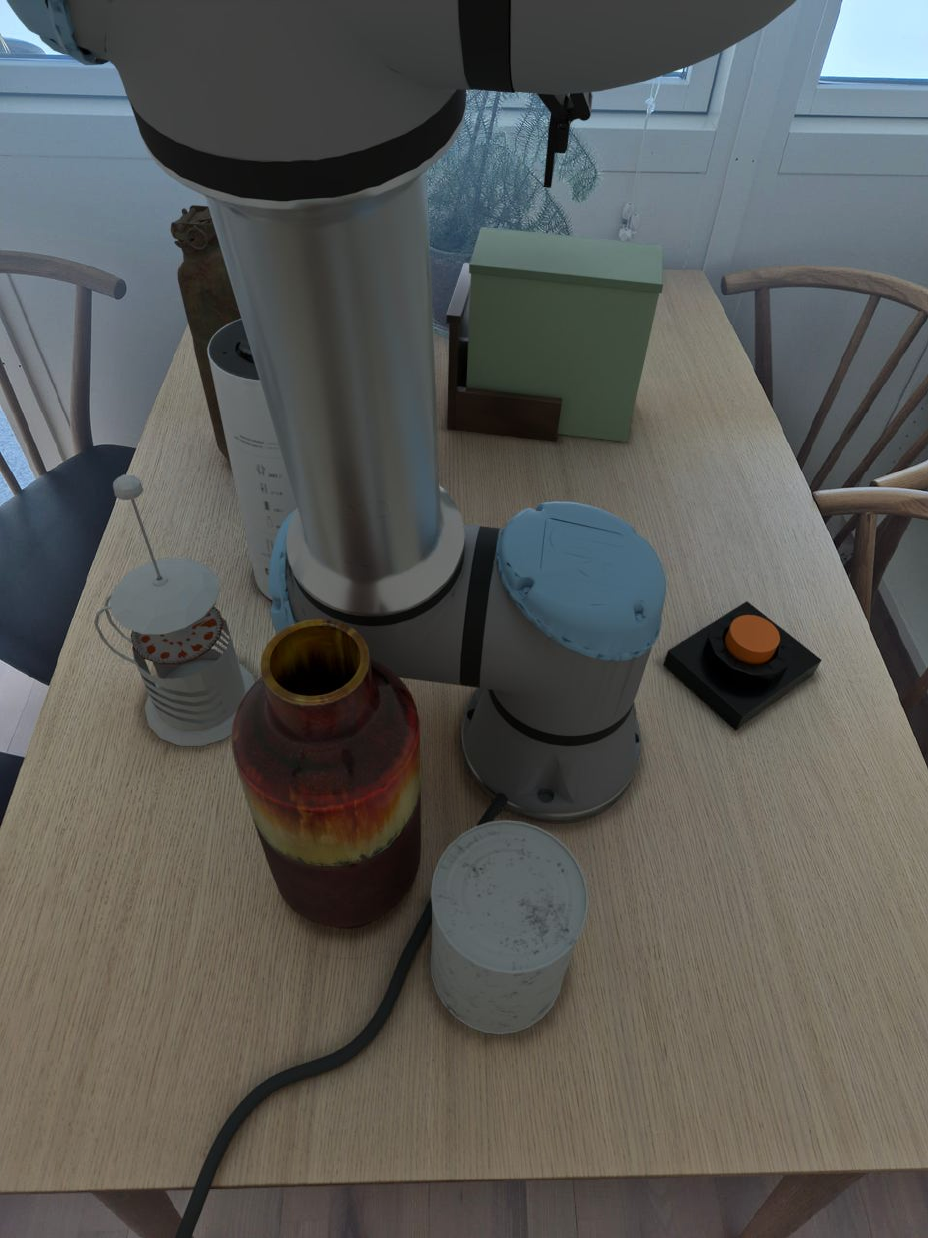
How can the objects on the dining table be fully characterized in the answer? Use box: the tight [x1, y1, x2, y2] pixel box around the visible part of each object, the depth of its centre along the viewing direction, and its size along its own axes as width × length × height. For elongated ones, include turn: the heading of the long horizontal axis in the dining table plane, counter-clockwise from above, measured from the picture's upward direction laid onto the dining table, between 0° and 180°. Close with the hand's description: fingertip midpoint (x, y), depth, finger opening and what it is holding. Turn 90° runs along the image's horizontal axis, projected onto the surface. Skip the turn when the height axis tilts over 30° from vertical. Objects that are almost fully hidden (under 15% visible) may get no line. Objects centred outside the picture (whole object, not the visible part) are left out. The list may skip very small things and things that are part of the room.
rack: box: [445, 262, 562, 442], centre depth 99 cm, size 14×13×15 cm
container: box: [170, 204, 242, 465], centre depth 86 cm, size 23×10×30 cm, turn 85°
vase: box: [230, 619, 422, 930], centre depth 53 cm, size 11×11×26 cm
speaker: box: [207, 319, 297, 602], centre depth 74 cm, size 11×10×26 cm
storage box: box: [466, 226, 664, 443], centre depth 97 cm, size 20×9×20 cm, turn 81°
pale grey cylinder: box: [430, 819, 589, 1036], centre depth 54 cm, size 10×10×12 cm
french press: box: [94, 473, 256, 747], centre depth 64 cm, size 10×12×25 cm
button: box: [725, 615, 780, 664], centre depth 74 cm, size 4×4×2 cm
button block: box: [662, 600, 823, 731], centre depth 76 cm, size 11×9×4 cm
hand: (481, 172), depth 84 cm, fingers open, 13 cm apart
